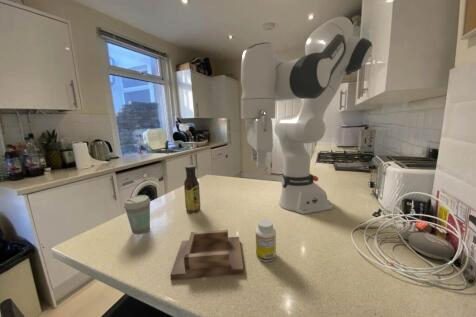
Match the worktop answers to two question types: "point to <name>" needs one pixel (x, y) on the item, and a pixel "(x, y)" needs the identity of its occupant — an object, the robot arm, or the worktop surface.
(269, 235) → the supplement bottle
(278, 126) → the robot arm
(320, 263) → the worktop surface
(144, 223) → the coffee cup
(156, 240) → the worktop surface
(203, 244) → the slot holder
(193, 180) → the sauce bottle
